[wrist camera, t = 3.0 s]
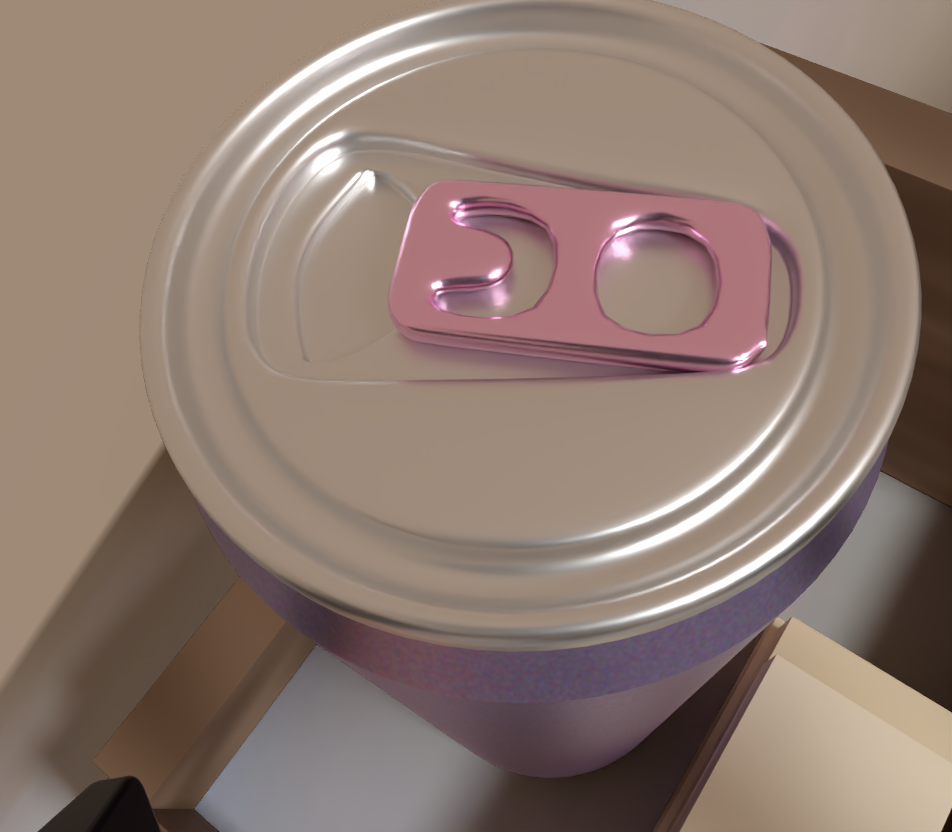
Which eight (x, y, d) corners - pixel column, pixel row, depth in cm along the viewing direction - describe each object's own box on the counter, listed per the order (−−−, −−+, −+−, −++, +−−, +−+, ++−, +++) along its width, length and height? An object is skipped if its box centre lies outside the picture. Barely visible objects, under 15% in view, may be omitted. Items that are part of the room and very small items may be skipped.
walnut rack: (764, 1458, 14) (1064, 2412, 5) (100, 828, 19) (-254, 837, 11) (1137, 538, 19) (1556, 338, 11) (550, 247, 24) (545, -37, 16)
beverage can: (665, 804, 18) (989, 772, 4) (395, 751, 19) (-31, 587, 5) (687, 537, 20) (937, -18, 7) (448, 502, 21) (247, -45, 8)
